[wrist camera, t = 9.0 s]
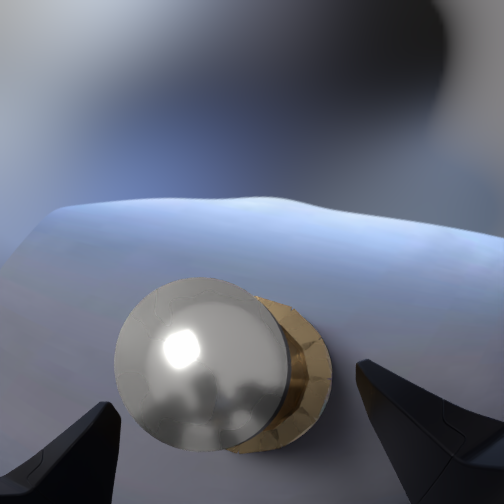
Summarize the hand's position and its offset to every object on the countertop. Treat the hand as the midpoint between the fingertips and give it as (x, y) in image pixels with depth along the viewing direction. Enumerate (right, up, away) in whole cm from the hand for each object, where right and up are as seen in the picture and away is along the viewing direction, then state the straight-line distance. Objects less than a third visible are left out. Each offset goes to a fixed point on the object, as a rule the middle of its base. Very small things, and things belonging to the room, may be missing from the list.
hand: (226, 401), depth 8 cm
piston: (+1, -3, +8) cm, 9 cm away
